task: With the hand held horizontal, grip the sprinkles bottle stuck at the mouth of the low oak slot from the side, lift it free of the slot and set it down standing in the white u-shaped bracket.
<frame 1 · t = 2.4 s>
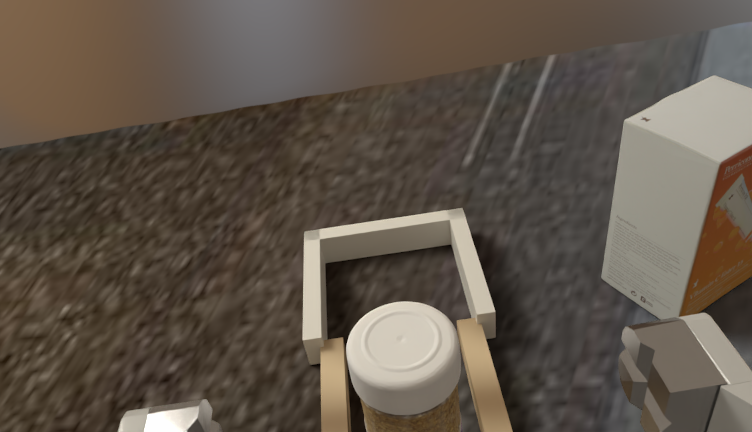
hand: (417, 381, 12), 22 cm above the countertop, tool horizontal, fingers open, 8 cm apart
small box: (675, 280, 43), on the countertop
white u-shaped bracket: (394, 292, 45), on the countertop
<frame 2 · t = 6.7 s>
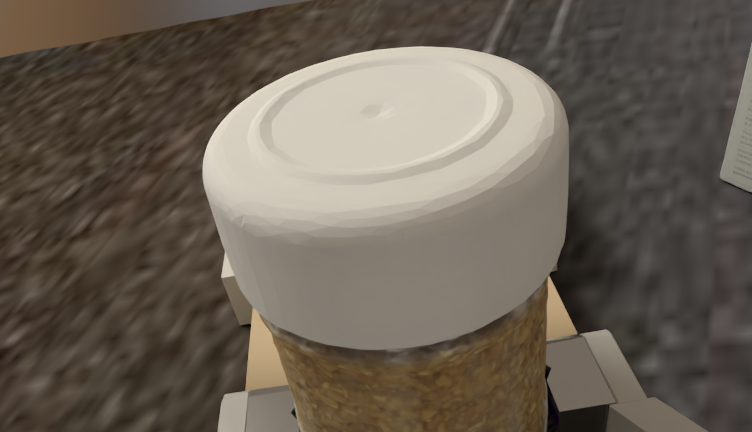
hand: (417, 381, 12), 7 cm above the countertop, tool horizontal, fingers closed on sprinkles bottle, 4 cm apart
white u-shaped bracket: (383, 214, 28), on the countertop
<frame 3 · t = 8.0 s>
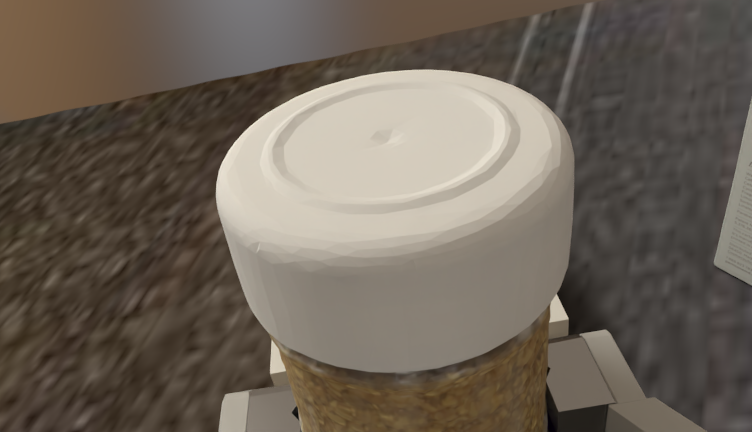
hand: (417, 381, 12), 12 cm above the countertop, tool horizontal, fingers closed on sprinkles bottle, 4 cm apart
white u-shaped bracket: (407, 297, 31), on the countertop
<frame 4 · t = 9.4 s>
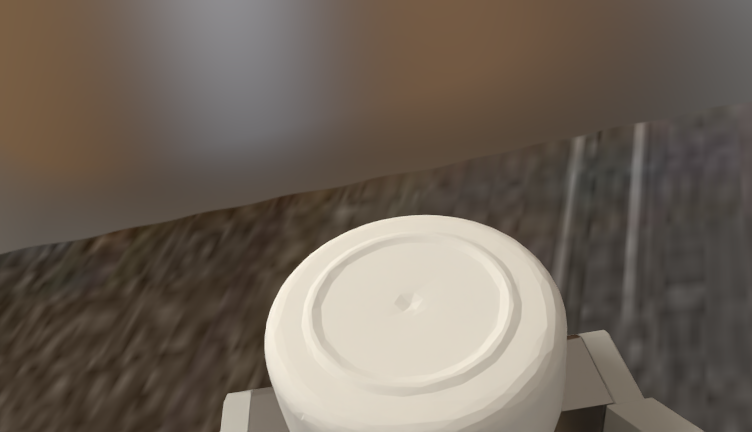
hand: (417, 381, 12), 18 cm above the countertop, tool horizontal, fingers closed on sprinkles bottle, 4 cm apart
when the fingers open (9 cm above the countertop, at t = 11.8 s): sprinkles bottle stays where it is, on the countertop.
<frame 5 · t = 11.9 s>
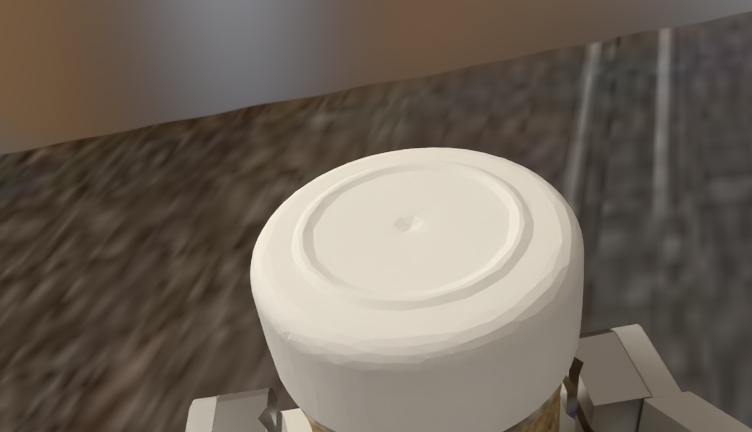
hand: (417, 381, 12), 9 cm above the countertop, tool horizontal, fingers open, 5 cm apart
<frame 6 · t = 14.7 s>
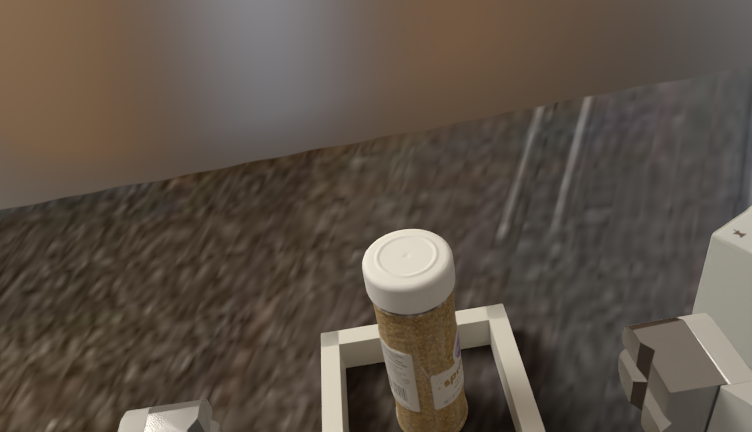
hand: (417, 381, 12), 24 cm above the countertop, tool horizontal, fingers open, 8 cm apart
sprinkles bottle: (432, 414, 39), on the countertop
white u-shaped bracket: (426, 410, 39), on the countertop
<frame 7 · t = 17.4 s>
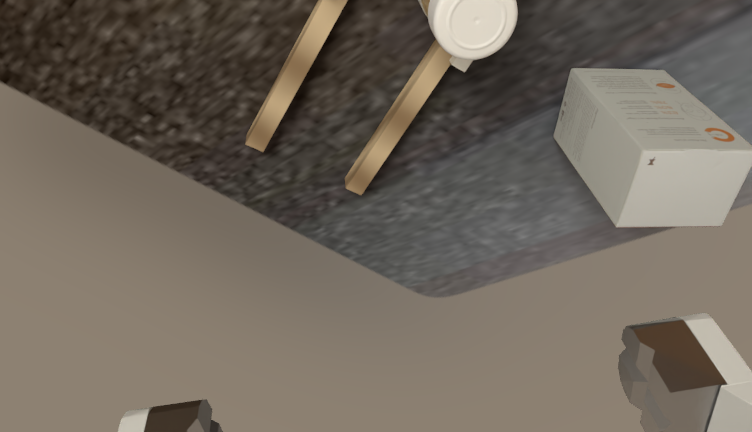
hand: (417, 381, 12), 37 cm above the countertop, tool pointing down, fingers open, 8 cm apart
oak slot: (346, 92, 48), on the countertop
small box: (605, 102, 52), on the countertop
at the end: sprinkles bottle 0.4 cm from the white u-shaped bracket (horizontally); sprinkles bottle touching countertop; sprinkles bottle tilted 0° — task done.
